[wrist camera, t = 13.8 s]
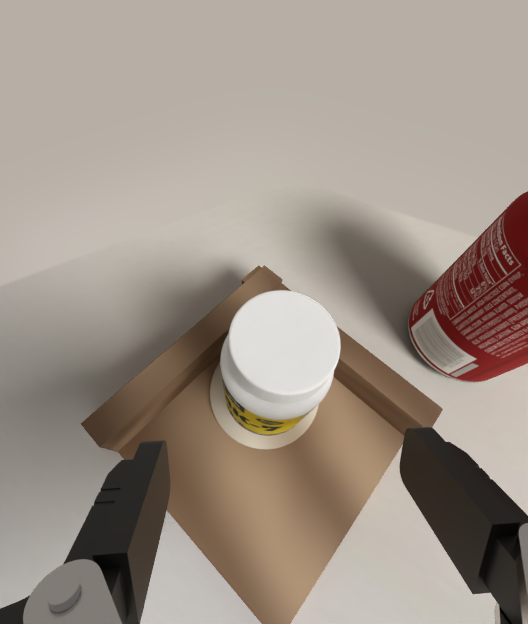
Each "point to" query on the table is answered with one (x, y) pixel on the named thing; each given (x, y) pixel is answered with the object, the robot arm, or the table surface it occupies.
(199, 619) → the table surface
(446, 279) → the soda can
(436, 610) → the table surface
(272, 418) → the supplement bottle
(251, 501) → the wooden tray
